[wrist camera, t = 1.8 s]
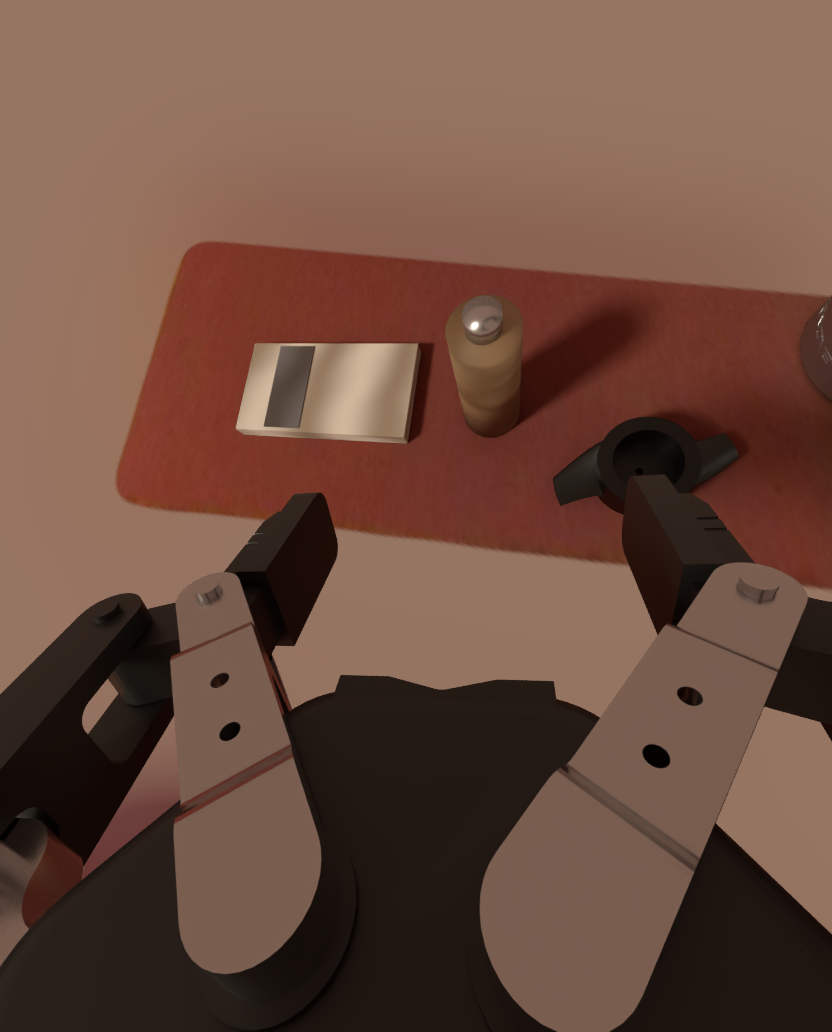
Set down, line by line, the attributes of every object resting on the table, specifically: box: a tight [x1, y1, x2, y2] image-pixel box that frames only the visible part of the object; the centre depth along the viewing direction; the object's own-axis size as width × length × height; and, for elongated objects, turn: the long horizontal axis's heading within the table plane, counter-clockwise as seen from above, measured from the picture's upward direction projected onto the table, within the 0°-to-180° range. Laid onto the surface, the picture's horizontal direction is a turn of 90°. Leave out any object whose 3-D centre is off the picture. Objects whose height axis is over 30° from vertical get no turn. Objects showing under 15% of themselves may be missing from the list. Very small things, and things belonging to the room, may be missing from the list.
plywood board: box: [236, 344, 421, 443], centre depth 36 cm, size 14×8×1 cm, turn 82°
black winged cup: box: [553, 417, 739, 515], centre depth 29 cm, size 8×10×3 cm
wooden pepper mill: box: [446, 295, 523, 438], centre depth 28 cm, size 4×4×11 cm
